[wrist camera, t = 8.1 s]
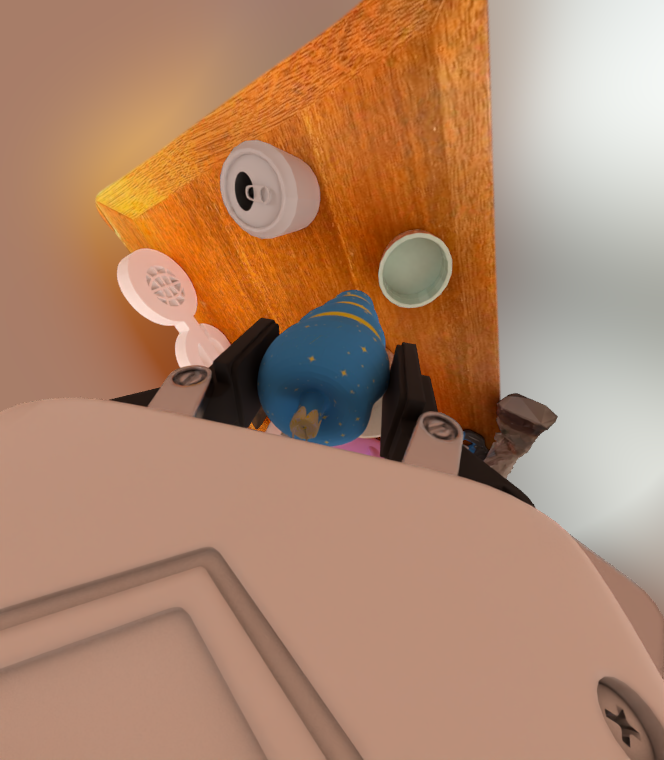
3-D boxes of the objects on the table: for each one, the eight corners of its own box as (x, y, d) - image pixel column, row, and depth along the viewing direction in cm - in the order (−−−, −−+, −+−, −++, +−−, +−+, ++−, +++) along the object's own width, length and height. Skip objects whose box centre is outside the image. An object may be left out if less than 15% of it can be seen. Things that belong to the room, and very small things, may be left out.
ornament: (342, 338, 22) (279, 508, 10) (311, 282, 20) (180, 411, 7) (401, 313, 20) (415, 492, 7) (373, 246, 17) (331, 347, 5)
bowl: (387, 225, 32) (386, 228, 28) (454, 233, 31) (463, 238, 27) (374, 291, 37) (372, 302, 33) (432, 300, 36) (438, 312, 32)
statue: (492, 403, 40) (446, 519, 55) (548, 428, 35) (480, 548, 50) (512, 389, 44) (464, 500, 59) (564, 410, 39) (497, 526, 54)
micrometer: (464, 425, 48) (447, 441, 51) (467, 433, 46) (448, 448, 49) (517, 452, 49) (497, 466, 52) (521, 460, 47) (500, 473, 50)
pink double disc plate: (157, 249, 39) (97, 261, 31) (167, 244, 39) (108, 255, 31) (234, 367, 50) (204, 399, 42) (243, 364, 49) (214, 396, 41)
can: (263, 153, 30) (204, 130, 21) (324, 160, 30) (292, 140, 20) (266, 226, 35) (218, 235, 25) (319, 233, 34) (291, 246, 24)
